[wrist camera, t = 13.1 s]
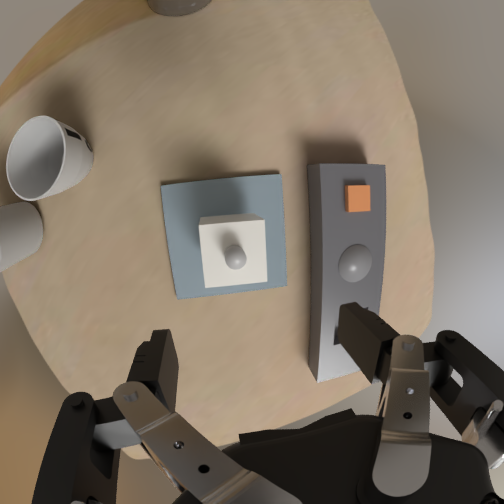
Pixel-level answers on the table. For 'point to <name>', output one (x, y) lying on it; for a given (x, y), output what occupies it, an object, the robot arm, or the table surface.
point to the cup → (46, 158)
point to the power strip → (343, 255)
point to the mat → (216, 204)
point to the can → (19, 233)
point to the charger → (233, 249)
